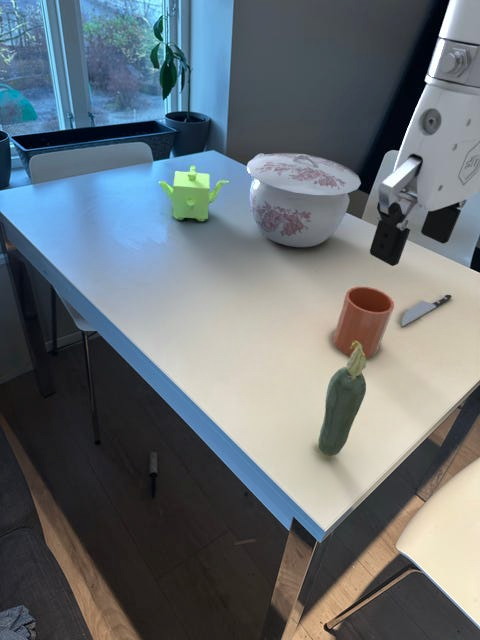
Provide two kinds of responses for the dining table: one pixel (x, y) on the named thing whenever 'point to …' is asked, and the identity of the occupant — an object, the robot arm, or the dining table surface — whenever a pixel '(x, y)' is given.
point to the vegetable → (343, 402)
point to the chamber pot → (299, 197)
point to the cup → (363, 320)
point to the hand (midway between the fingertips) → (409, 248)
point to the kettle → (191, 194)
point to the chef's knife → (421, 310)
